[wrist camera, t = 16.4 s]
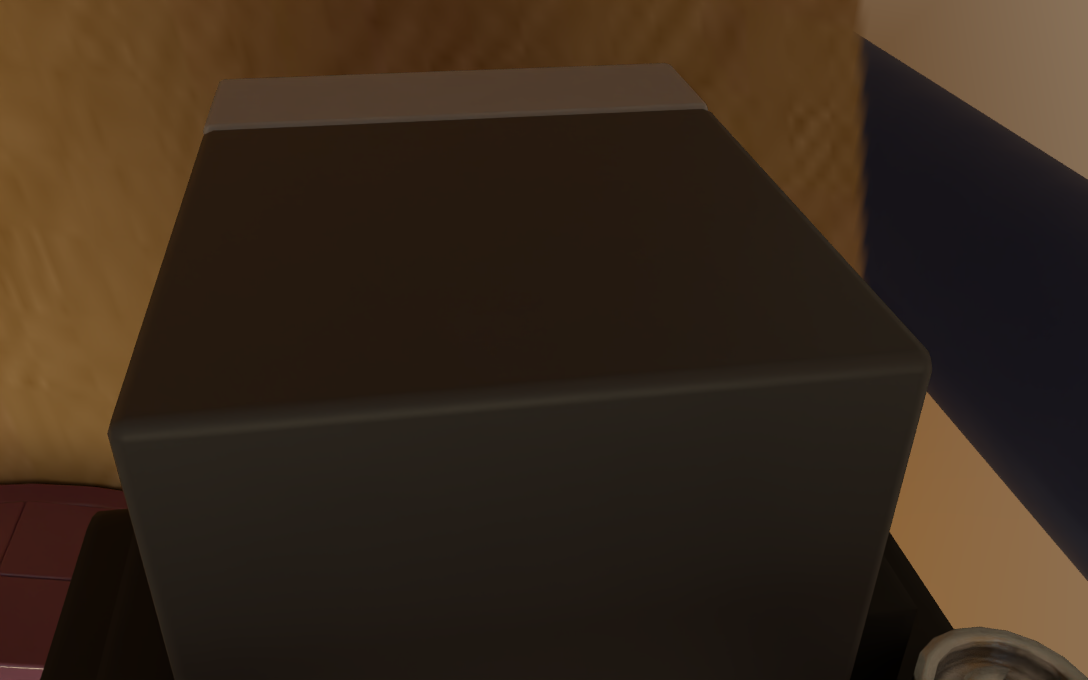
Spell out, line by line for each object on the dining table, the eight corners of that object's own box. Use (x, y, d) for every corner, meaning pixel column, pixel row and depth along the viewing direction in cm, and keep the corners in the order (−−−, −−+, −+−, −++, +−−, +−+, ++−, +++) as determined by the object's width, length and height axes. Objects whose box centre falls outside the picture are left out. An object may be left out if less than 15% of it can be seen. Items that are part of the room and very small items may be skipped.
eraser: (669, 60, 9) (944, 356, 5) (621, 656, 13) (746, 1084, 9) (216, 77, 9) (97, 429, 4) (316, 695, 13) (303, 1171, 9)
